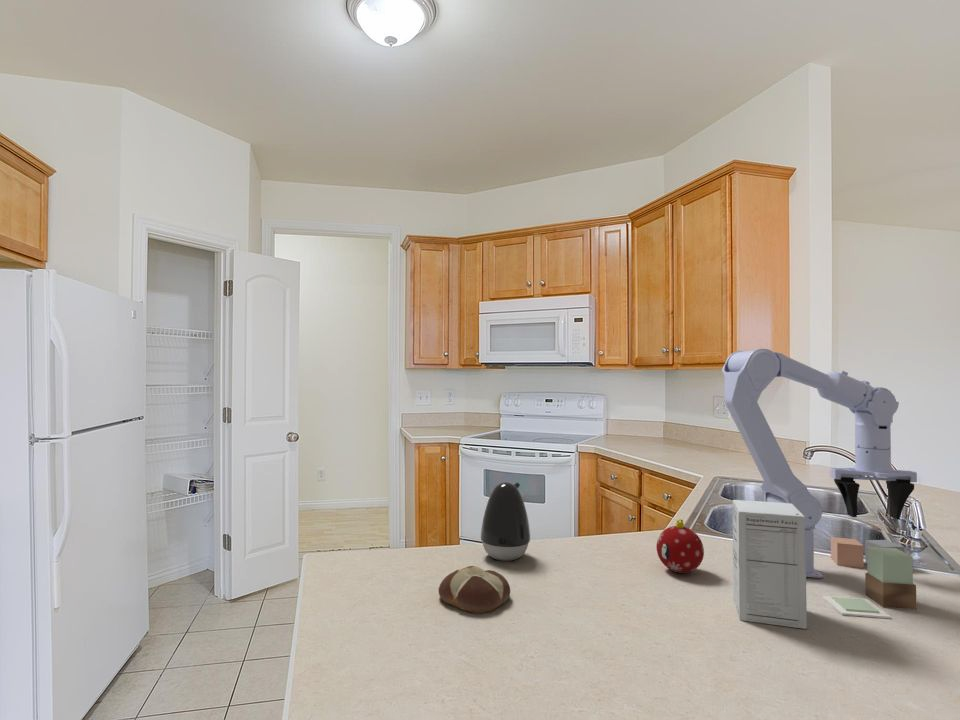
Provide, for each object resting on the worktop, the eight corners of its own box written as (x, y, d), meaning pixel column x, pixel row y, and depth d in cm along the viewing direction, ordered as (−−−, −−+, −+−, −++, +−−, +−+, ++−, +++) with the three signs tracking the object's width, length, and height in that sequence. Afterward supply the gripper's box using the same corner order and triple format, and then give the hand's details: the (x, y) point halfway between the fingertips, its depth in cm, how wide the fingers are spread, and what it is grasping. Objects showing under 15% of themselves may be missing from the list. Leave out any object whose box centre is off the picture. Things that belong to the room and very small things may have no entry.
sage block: (882, 582, 90) (882, 555, 90) (867, 573, 94) (867, 546, 94) (912, 584, 89) (912, 556, 89) (896, 574, 94) (895, 548, 94)
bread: (477, 621, 83) (478, 588, 83) (427, 599, 90) (428, 569, 91) (523, 600, 91) (523, 569, 91) (474, 581, 99) (474, 554, 99)
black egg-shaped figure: (538, 554, 114) (539, 481, 114) (515, 568, 105) (515, 489, 105) (497, 545, 119) (497, 476, 120) (470, 558, 110) (472, 483, 111)
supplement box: (795, 606, 89) (794, 502, 90) (809, 630, 80) (808, 516, 81) (731, 598, 92) (731, 498, 93) (737, 620, 84) (737, 510, 84)
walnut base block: (883, 608, 89) (883, 583, 89) (865, 596, 94) (865, 572, 94) (916, 610, 89) (916, 585, 89) (896, 597, 94) (896, 574, 94)
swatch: (841, 615, 86) (841, 611, 86) (821, 597, 93) (821, 593, 93) (890, 618, 85) (890, 614, 85) (866, 600, 92) (866, 597, 92)
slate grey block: (883, 569, 107) (883, 547, 108) (865, 562, 112) (865, 540, 112) (904, 569, 108) (904, 546, 108) (885, 561, 112) (885, 539, 113)
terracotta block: (837, 565, 110) (837, 543, 110) (830, 558, 114) (830, 537, 114) (863, 568, 108) (863, 545, 108) (855, 561, 112) (855, 539, 113)
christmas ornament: (714, 575, 103) (714, 522, 103) (680, 582, 99) (680, 527, 99) (679, 561, 110) (679, 512, 111) (646, 567, 107) (647, 516, 107)
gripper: (842, 449, 105) (843, 520, 104) (926, 451, 102) (927, 524, 102) (825, 444, 112) (825, 511, 111) (903, 447, 109) (904, 515, 109)
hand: (873, 517), depth 107 cm, fingers open, 7 cm apart
